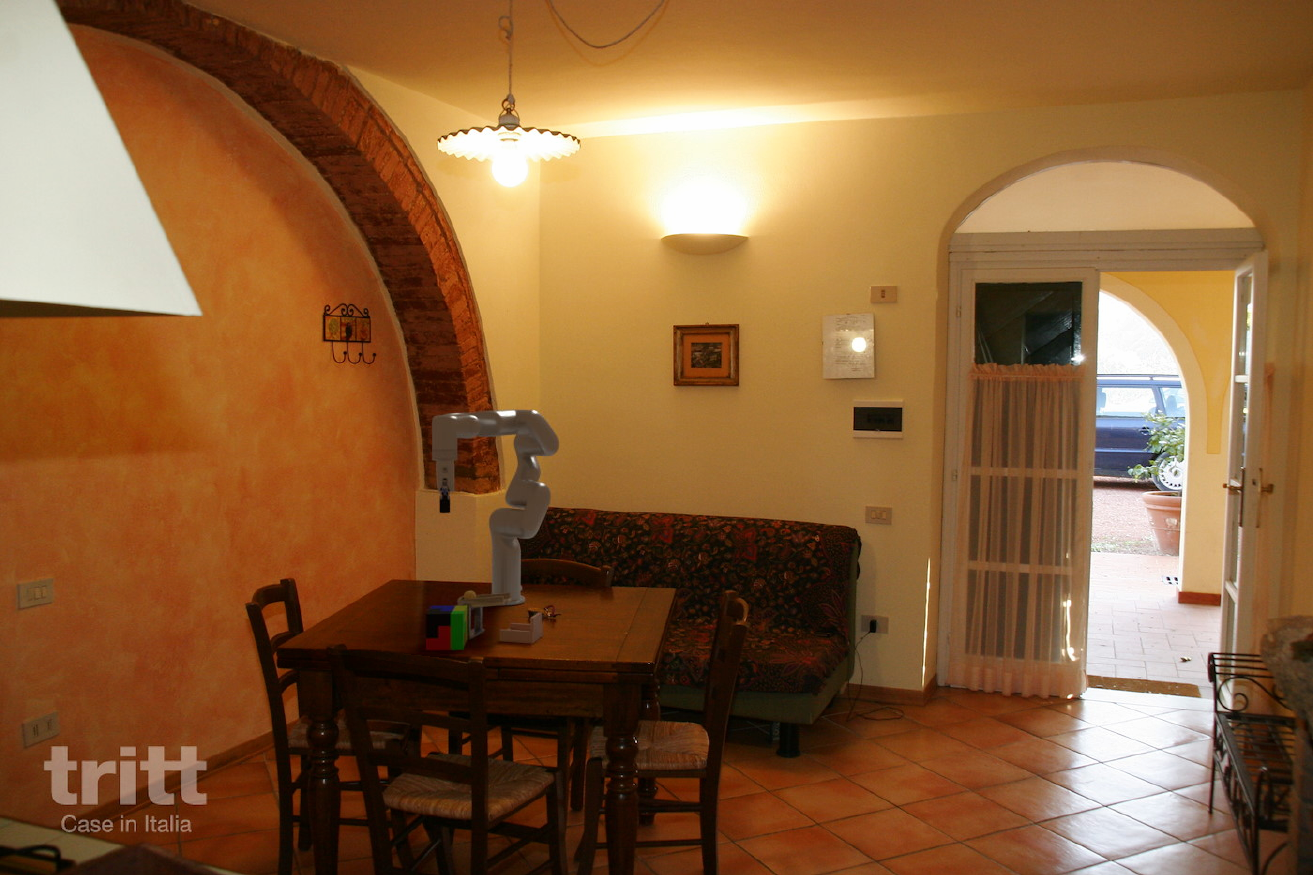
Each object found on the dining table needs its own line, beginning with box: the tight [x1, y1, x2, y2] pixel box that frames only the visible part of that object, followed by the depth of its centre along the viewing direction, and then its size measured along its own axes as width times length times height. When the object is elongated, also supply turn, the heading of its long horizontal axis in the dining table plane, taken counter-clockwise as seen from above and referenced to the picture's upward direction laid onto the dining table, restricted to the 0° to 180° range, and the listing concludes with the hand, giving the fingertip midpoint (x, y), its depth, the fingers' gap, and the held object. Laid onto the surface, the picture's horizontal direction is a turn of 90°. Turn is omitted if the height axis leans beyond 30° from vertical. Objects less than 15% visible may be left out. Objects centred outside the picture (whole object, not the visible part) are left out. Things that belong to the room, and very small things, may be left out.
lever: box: [453, 592, 511, 611], centre depth 275 cm, size 12×20×7 cm, turn 77°
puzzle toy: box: [425, 605, 468, 651], centre depth 262 cm, size 10×10×10 cm
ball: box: [463, 590, 477, 599], centre depth 273 cm, size 4×4×4 cm
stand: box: [463, 603, 486, 640], centre depth 273 cm, size 10×3×10 cm, turn 167°
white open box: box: [499, 612, 544, 645], centre depth 269 cm, size 9×10×7 cm
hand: (444, 510), depth 289 cm, fingers open, 9 cm apart
